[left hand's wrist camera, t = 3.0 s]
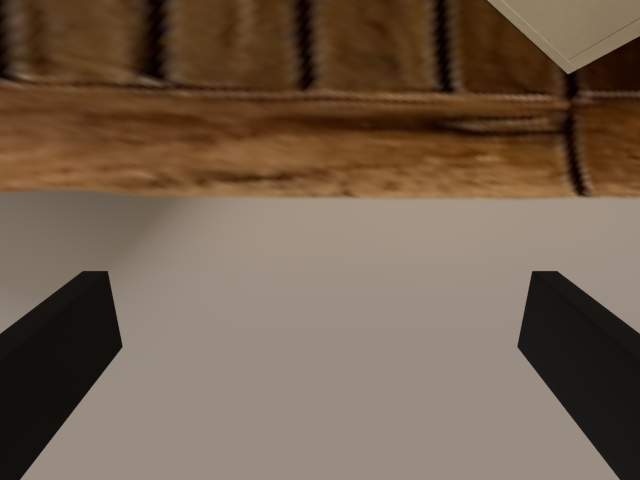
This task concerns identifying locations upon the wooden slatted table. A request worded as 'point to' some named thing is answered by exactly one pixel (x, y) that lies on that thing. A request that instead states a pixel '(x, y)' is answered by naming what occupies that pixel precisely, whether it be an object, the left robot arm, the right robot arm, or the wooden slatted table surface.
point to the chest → (574, 26)
